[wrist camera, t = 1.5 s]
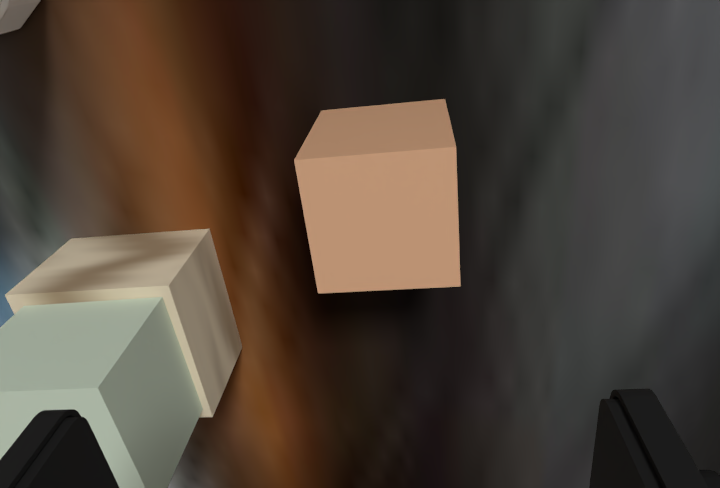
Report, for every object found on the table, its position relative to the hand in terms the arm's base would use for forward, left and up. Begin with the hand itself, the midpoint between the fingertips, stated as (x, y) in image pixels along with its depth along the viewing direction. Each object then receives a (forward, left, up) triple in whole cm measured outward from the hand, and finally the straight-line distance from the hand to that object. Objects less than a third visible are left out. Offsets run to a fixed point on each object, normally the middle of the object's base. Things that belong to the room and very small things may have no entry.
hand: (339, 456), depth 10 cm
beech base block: (+12, +6, -15) cm, 20 cm away
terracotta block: (0, 0, -15) cm, 15 cm away
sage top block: (+12, +6, -10) cm, 16 cm away
